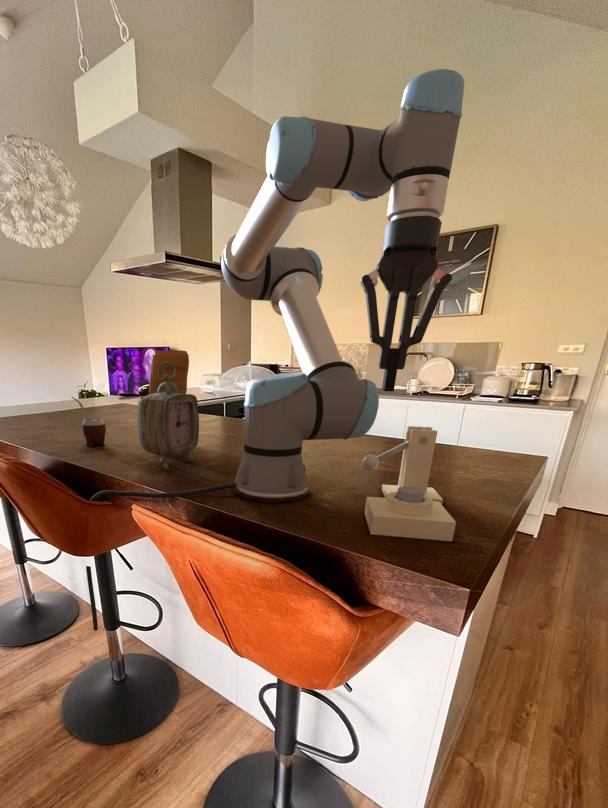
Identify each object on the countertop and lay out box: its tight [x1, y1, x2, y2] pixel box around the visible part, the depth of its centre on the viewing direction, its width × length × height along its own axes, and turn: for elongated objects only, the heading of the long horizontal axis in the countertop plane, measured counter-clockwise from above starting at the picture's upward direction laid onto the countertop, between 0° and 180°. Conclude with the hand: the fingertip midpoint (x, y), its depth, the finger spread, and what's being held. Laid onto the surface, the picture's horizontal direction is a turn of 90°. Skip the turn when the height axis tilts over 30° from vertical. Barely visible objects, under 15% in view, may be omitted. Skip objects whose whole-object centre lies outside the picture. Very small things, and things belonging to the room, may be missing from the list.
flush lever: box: [362, 428, 426, 471], centre depth 83 cm, size 13×3×3 cm
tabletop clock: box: [136, 362, 200, 471], centre depth 104 cm, size 14×9×25 cm, turn 150°
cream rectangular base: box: [364, 492, 457, 542], centre depth 69 cm, size 12×10×5 cm
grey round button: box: [396, 487, 424, 503], centre depth 68 cm, size 4×4×2 cm
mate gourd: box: [71, 396, 107, 448], centre depth 129 cm, size 8×8×15 cm
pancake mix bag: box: [148, 349, 190, 395], centre depth 125 cm, size 7×19×28 cm, turn 148°
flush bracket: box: [381, 425, 444, 506], centre depth 83 cm, size 10×8×14 cm
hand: (387, 390), depth 69 cm, fingers closed
